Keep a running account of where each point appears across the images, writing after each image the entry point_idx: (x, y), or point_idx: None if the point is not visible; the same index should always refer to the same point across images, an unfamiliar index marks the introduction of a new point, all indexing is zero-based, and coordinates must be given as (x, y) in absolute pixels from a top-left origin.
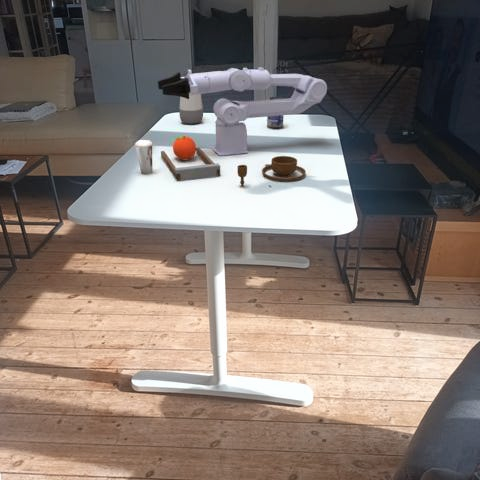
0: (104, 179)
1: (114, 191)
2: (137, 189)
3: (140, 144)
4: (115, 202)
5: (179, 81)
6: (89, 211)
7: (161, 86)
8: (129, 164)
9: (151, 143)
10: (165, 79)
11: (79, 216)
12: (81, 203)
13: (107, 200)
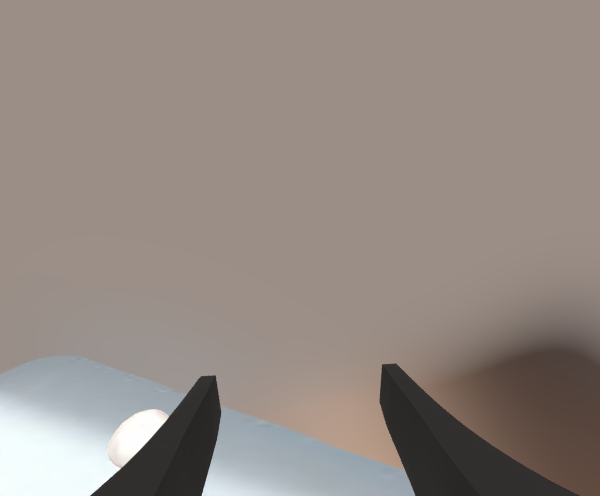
0: (178, 394)
1: (89, 411)
2: (50, 461)
3: (124, 421)
4: (27, 412)
5: (126, 490)
6: (36, 374)
7: (387, 406)
8: (260, 450)
9: (114, 460)
10: (407, 399)
11: (32, 363)
12: (84, 363)
13: (54, 398)
